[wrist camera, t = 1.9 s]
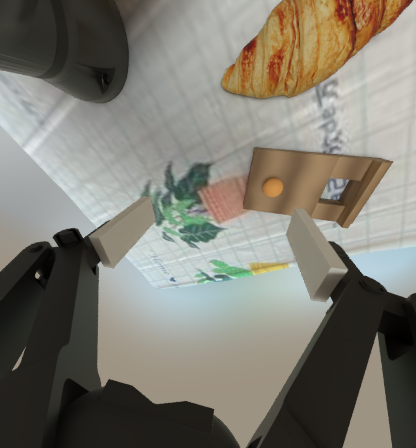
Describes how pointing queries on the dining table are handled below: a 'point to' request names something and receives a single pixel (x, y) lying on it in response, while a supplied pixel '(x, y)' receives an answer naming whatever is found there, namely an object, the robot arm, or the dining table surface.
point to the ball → (273, 187)
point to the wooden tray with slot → (312, 183)
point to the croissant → (307, 44)
